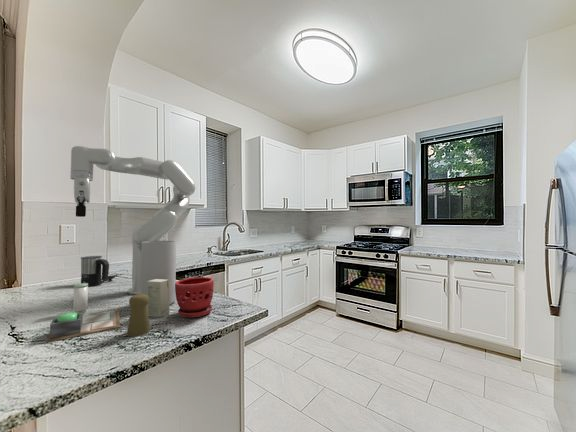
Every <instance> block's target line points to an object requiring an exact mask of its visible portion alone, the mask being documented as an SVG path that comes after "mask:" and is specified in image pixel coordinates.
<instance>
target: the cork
mask: <svg viewBox="0 0 576 432" xmlns="http://www.w3.org/2000/svg"><path fill="white" fill-rule="evenodd" d="M148 303H149V297H148V295H146V294H133V295H131V297H130V298H129V300H128V305H129V307H130V312H129V319H128V326H127V333H126V336H128V337H139V336H144V335H146V334H148V333H149V332H150V331H151V328H150V318H149V316H148V310H147V304H148Z"/></svg>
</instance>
